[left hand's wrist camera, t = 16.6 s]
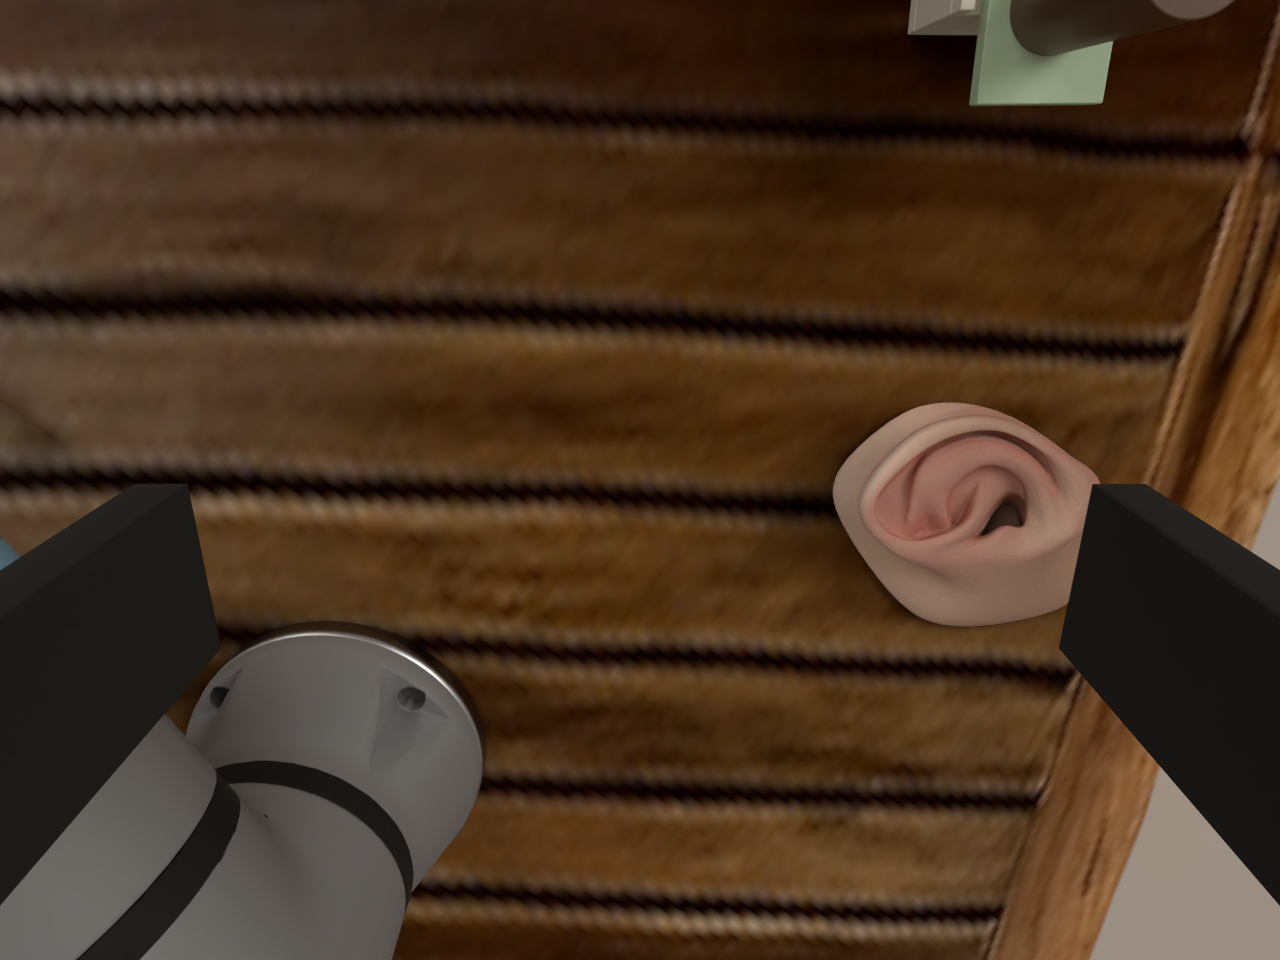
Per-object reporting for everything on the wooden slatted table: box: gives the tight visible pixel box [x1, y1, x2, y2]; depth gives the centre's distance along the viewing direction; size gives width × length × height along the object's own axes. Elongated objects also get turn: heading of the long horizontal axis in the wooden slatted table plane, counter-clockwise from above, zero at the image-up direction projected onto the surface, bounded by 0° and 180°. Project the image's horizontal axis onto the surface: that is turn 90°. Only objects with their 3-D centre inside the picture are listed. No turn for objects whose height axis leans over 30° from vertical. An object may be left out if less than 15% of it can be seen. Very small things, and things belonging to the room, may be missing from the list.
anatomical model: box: [833, 403, 1100, 626], centre depth 39 cm, size 13×4×12 cm
